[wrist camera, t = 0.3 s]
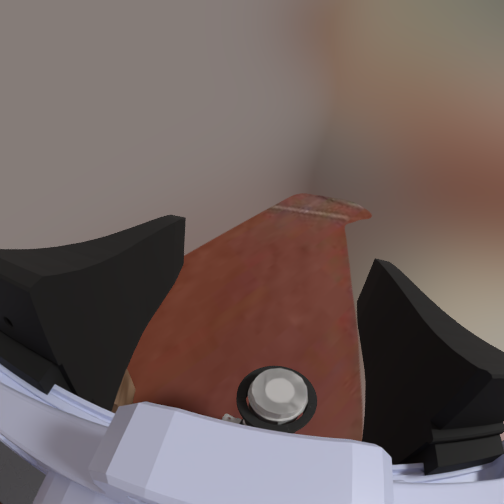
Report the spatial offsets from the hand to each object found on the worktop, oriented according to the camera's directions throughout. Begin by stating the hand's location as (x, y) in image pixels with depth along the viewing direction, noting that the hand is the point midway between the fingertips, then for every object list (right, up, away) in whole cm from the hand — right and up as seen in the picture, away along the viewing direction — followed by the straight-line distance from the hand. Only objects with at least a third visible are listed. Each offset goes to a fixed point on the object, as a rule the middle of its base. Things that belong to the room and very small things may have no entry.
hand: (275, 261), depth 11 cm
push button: (-1, -17, +12) cm, 21 cm away
